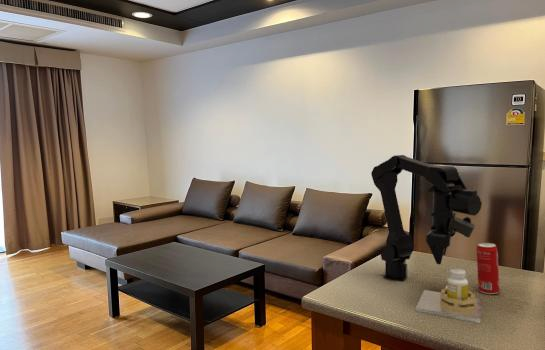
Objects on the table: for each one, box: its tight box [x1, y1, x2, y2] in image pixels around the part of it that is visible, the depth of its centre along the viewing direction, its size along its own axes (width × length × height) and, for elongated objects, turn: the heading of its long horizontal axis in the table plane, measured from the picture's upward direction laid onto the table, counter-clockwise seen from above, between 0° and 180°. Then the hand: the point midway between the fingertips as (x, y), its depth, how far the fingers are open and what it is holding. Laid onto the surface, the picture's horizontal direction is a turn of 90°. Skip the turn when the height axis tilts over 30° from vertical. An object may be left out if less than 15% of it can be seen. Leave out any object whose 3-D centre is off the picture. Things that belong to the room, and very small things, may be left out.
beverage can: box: [475, 242, 500, 295], centre depth 121 cm, size 6×6×15 cm
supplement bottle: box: [446, 268, 469, 306], centre depth 110 cm, size 5×5×10 cm
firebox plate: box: [415, 287, 483, 324], centre depth 111 cm, size 16×14×4 cm
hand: (440, 259), depth 118 cm, fingers open, 9 cm apart
